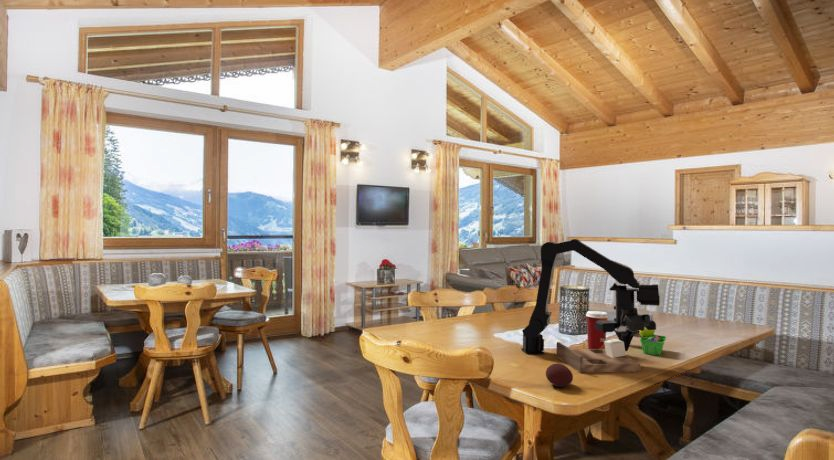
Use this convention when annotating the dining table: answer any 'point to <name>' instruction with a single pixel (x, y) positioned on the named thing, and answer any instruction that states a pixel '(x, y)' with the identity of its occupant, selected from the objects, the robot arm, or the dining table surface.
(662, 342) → the fruit basket
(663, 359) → the dining table surface
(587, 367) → the trap board
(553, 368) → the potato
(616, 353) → the block
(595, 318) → the paper cup
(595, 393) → the dining table surface
